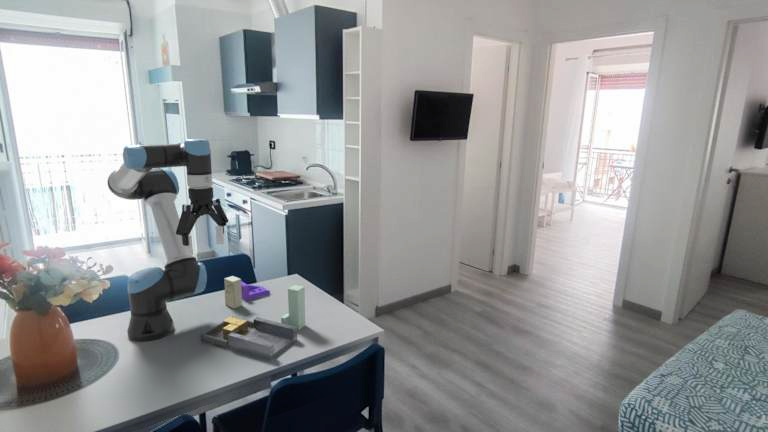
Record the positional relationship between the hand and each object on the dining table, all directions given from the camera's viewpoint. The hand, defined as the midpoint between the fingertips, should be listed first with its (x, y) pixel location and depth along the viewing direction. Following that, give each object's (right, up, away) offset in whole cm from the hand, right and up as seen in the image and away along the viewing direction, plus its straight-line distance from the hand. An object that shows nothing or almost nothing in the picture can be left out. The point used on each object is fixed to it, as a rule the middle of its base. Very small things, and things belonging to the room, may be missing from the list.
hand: (205, 249), depth 146 cm
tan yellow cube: (+7, -32, +14) cm, 36 cm away
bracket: (+2, -25, +49) cm, 55 cm away
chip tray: (+4, -33, +13) cm, 35 cm away
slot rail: (+18, -34, +7) cm, 39 cm away
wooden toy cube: (+5, -33, +10) cm, 35 cm away
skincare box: (-3, -27, +38) cm, 47 cm away
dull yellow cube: (+3, -31, +16) cm, 35 cm away
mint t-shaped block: (+27, -31, +20) cm, 46 cm away
